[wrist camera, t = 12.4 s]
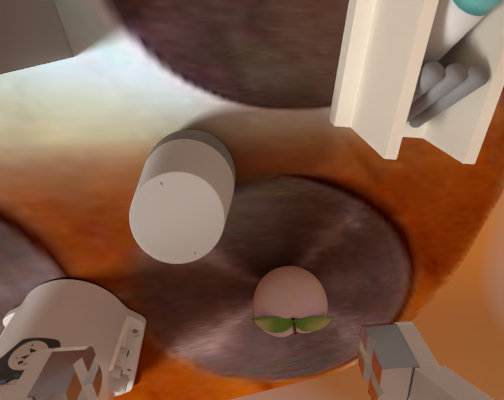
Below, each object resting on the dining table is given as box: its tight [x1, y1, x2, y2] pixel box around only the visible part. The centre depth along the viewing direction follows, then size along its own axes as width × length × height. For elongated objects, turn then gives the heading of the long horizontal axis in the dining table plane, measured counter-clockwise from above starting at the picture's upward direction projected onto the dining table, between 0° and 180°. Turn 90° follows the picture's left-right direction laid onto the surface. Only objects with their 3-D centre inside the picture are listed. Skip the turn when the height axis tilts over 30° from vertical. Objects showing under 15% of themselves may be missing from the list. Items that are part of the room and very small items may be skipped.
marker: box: [421, 0, 502, 68], centre depth 29 cm, size 3×3×11 cm
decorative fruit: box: [252, 266, 333, 337], centre depth 44 cm, size 9×8×10 cm
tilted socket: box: [329, 0, 504, 164], centre depth 32 cm, size 14×11×12 cm
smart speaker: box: [129, 130, 235, 264], centre depth 35 cm, size 10×9×14 cm
